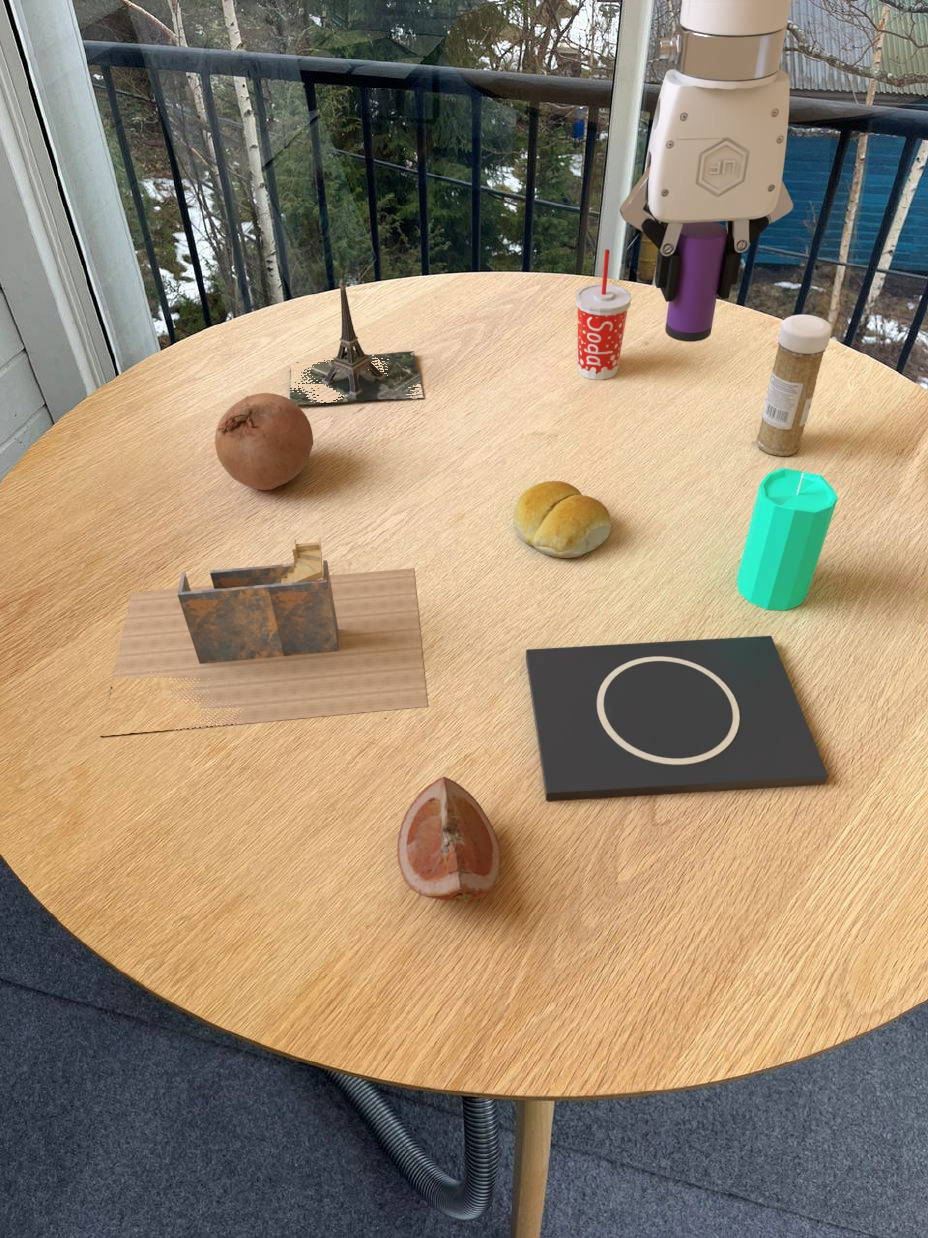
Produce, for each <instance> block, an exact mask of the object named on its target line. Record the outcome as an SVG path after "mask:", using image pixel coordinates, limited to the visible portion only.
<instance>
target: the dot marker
mask: <svg viewBox="0 0 928 1238" xmlns="http://www.w3.org/2000/svg"><path fill="white" fill-rule="evenodd" d="M726 238H727V229H726V226H724V225H722V224H721V223H719V222H716V221H714V222H692V223H683V227H682V230H681V233H680V236H679V239H678V242H677V252H678V254H679V256H680V265H679V273H678V280H677V288H676V295H675V300H673V301H672V302H668V305H667V311H666V312H667V313H666V320H665V321H666V322H665V329H664V331H665V333H666V334H667V336H669V337H670V338H672V339H674V340H677V341H679V342H686V343H691V342H692V343H693V342H700V341H701V342H702V341H704V340H705V339H708V338H709V337H710V336H711V335H712V329H713V323H714V316H715V311H716V305H717V297H718V294H717V293H718V286H719V280H720V274H721V268H722V262H723V256H724V250H725V244H726Z"/></svg>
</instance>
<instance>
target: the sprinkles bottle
mask: <svg viewBox="0 0 928 1238" xmlns="http://www.w3.org/2000/svg"><path fill="white" fill-rule="evenodd" d="M831 334H832V326H831V324H830V323H829V322H828V321H827V320H826V319H824V318H822V317H819V316H816V315H812V314H795V315H794V314H793V315H790V316H788V317H786V318H785V319H783V320H782V322H781V325H780V329H779V333H778V337H777V341H778V346H777V347H778V348H777V351H776V355H775V359H774V362H773V367H772V370H771V373H770V378H769V383H768V387H767V390H766V395H765V400H764V404H763V408H762V414H761V415H762V416H761V421H760V426H759V430H758V433H757V435H756V438H755V442H756V443H755V444H756V445H757V447H758V448H759V449H760V450H761V451H763V452H765V453H767V454H768V455H769V454H770V455H772V456H777V457H786V456H791V455H794V454H796V453H797V452H798V451H799V450H800V449H801V446H802V438H803V434H804V430H805V426H806V424H807V421H808V419H809V418H808V417H809V413H810V410H811V406H812V403H813V398H814V393H815V390H816V386H817V380H818V376H819V372H820V369H821V365H822V362H823V356H824V353H825V352H826V349H827V348H828V346H829V343H830V340H831Z"/></svg>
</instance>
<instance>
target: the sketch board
mask: <svg viewBox="0 0 928 1238" xmlns="http://www.w3.org/2000/svg"><path fill="white" fill-rule="evenodd" d="M525 662H526V671H527V676H528V681H529V682H528V683H529V691H530V698H531V704H532V711H533V712H532V713H533V719H534V725H535V733H536V741H537V746H538V753H539V760H540V761H539V762H540V767H541V768H540V769H541V776H542V781H543V789H544V796H545V801H546V802H553V801H568V800H570V801H571V800H585V799H601V798H617V797H618V798H619V797H633V796H650V795H651V796H652V795H666V794H668V795H669V794H682V793H683V794H685V793H700V792H701V793H702V792H717V791H719V792H720V791H731V790H733V791H734V790H750V789H751V790H752V789H767V788H783V787H799V786H800V787H801V786H815V785H816V786H818V785H826V784H827V781H828V779H829V776H830V775H829V773H828V770H827V768H826V766H825V763H824V761H823V758H822V756H821V753H820V750H819V748H818V746H817V743H816V742H815V739H814V736H813V734H812V732H811V729H810V726H809V724H808V722H807V719H806V717H805V714H804V712H803V709H802V707H801V705H800V702H799V700H798V697H797V695H796V692H795V690H794V687H793V685H792V682H791V681H790V678H789V675H788V672H787V671H786V668H785V665H784V662H783V660H782V658H781V656H780V653H779V651H778V649H777V646H776V644H775V641H774V638H773V636H772V635H760V636H758V635H757V636H743V637H742V636H741V637H740V636H739V637H722V638H707V639H689V640H688V639H687V640H671V641H655V642H651V641H650V642H635V643H619V644H602V645H601V644H599V645H598V644H597V645H583V646H565V647H547V648H530V649H525Z"/></svg>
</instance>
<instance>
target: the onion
mask: <svg viewBox="0 0 928 1238" xmlns="http://www.w3.org/2000/svg"><path fill="white" fill-rule="evenodd" d="M312 429H313V428H312V425H311V423H310V421H309V419H308V417H307V414H306V413H304V411H303V410H302V409H301V407H300V406H298V404H295V403H294V402H293V401H291V400H290V398H288V397H286V396H284V395H281V394H277V393H271V392H260V393H256V394H255V393H254V394H252V395H246V396H245V397H244V398H242V399H240V400H238V401H237V402H236V403H234V404H233V405H231V406H230V407H229V408H228V409H227V410H226V411H225V413H224V414H222V416H221V418H220V420H219V421H218V424H217V427H216V429H215V434H214V435H215V436H214V445H215V451H216V455H217V459H218V461H219V462H220V465H221V466H222V467H223V469H224V470H225V471H226V473H228V474H229V476H230V477H232V478H233V480H235V481H236V482H238V483H239V484H242V485H243V486H246V487H249V488H252V489H256V490H260V491H261V490H262V491H266V490H267V491H268V490H274V489H275V488H278V487H281V486H283V485H285V484H287V483H288V482H290V481H291V480H293V479H294V478H295V477H297V476H298V475H299V474H300V473H301V472H302V471H303V469H305V466H306V464H307V463H308V461H309V459H310V456H311V453H312V449H313V446H314V434H313V430H312Z"/></svg>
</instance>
